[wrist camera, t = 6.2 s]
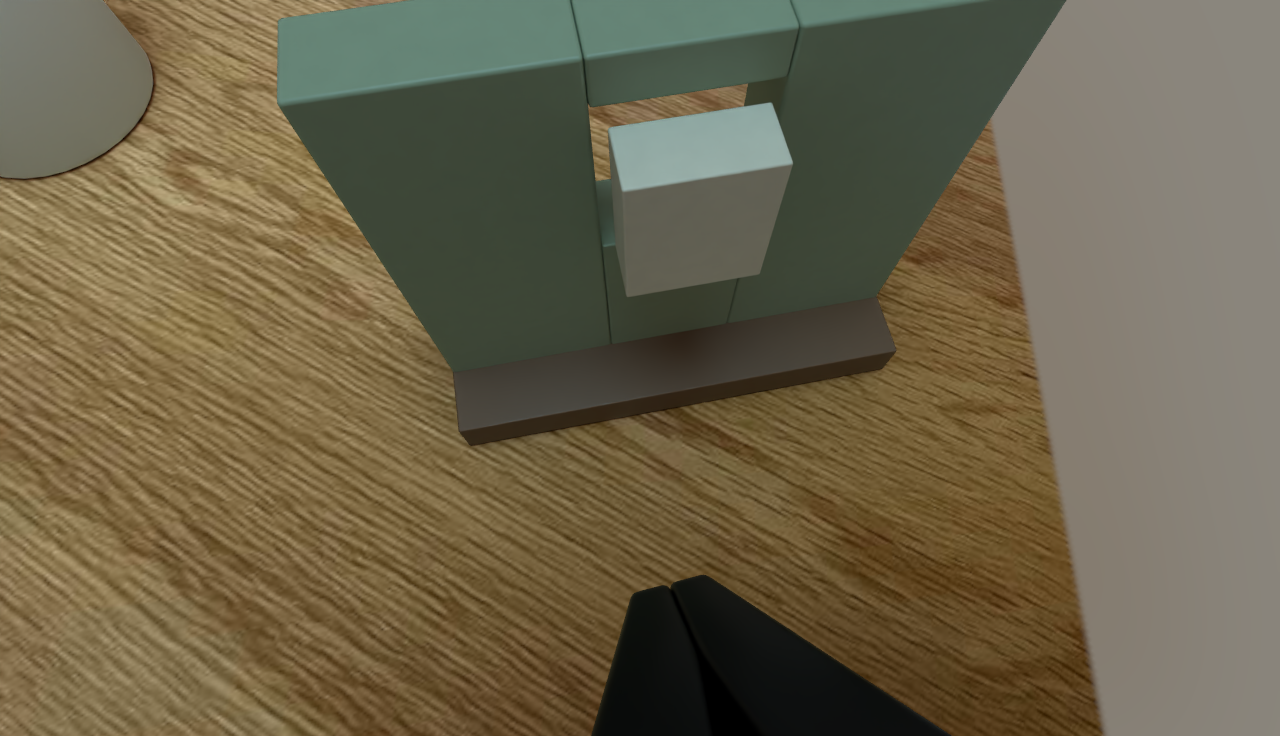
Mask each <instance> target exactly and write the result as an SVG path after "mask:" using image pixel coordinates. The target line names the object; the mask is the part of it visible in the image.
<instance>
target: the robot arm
mask: <svg viewBox="0 0 1280 736" xmlns="http://www.w3.org/2000/svg"><path fill="white" fill-rule="evenodd" d="M591 736H951V735H950V734H948V733H947V732H945V731H944V730H942V729H941V728H939V727H938V726H936V725H935V724H933V723H932V722H930V721H928V720H927V719H925V718H924V717H922V716H921V715H919V714H918V713H916V712H915V711H913V710H912V709H910V708H909V707H907V706H906V705H904V704H903V703H901V702H900V701H898V700H896V699H895V698H893V697H892V696H890V695H889V694H887V693H886V692H884V691H883V690H881V689H880V688H878V687H877V686H875V685H874V684H872V683H871V682H869V681H868V680H866V679H864V678H863V677H861V676H860V675H858V674H857V673H855V672H854V671H852V670H851V669H849V668H848V667H846V666H845V665H843V664H842V663H840V662H839V661H837V660H835V659H834V658H832V657H831V656H829V655H828V654H826V653H825V652H823V651H822V650H820V649H819V648H817V647H816V646H814V645H813V644H811V643H810V642H808V641H807V640H805V639H803V638H802V637H800V636H799V635H797V634H796V633H794V632H793V631H791V630H790V629H788V628H787V627H785V626H784V625H782V624H781V623H779V622H778V621H776V620H775V619H773V618H771V617H770V616H768V615H767V614H765V613H764V612H762V611H761V610H759V609H758V608H756V607H755V606H753V605H752V604H750V603H749V602H747V601H746V600H744V599H743V598H741V597H739V596H738V595H736V594H735V593H733V592H732V591H730V590H729V589H727V588H726V587H724V586H723V585H721V584H720V583H718V582H717V581H715V580H714V579H712V578H711V577H709V576H706V575H699V576H695V577H692V578H688V579H684V580H680V581H677V582H674V583H673V584H672V585H671V588H669V587H667V586H665V585H662V586H658V587H654V588H650V589H646V590H642V591H639V592H636V593H634V594H633V595H632V597H631V599H630V602H629V606H628V609H627V613H626V616H625V620H624V623H623V627H622V630H621V634H620V637H619V640H618V644H617V647H616V651H615V654H614V658H613V661H612V665H611V668H610V672H609V675H608V679H607V682H606V686H605V689H604V693H603V696H602V700H601V703H600V707H599V710H598V714H597V717H596V721H595V724H594V728H593V731H592V735H591Z"/></svg>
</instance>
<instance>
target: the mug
mask: <svg viewBox="0 0 1280 736" xmlns="http://www.w3.org/2000/svg"><path fill="white" fill-rule="evenodd" d="M152 87H153V77H152V69H151V65H150V62H149V59H148V57H147V54H146V53H145V51H144V50H143V48H142V47H141V46H140V45H139V43H138V42H137V41H136V40H135V38H134V37H133V36H132V35H131V34H130V32H129V31H128V30H127V29H126V27H125V26H124V25H123V24H122V23H121V21H120V20H119V19H118V18H117V17H116V15H115V14H114V13H113V12H112V10H111V9H110V8H109V7H108V6H107V4H106V3H105V2H104V1H103V0H0V176H1V177H5V178H22V179H27V178H36V177H45V176H49V175H53V174H57V173H61V172H65V171H68V170H70V169H73V168H75V167H78V166H80V165H83V164H85V163H87V162H89V161H91V160H93V159H95V158H96V157H98V156H100V155H102V154H103V153H105V152H106V151H108V150H109V149H110V148H112V147H113V146H114V145H116V144H117V143H118V142H120V141H121V140H122V139H123V138H124V137H125V136H126V135H127V134H128V133H129V132H130V131H131V130H132V129H133V128H134V126H135V125H136V124H137V122H138V121H139V119H140V118H141V116H142V115H143V113H144V112H145V110H146V107H147V105H148V103H149V100H150V98H151V93H152Z"/></svg>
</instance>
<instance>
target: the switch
mask: <svg viewBox="0 0 1280 736" xmlns="http://www.w3.org/2000/svg"><path fill="white" fill-rule="evenodd" d="M608 139H609V154H610V169H611V185H612V200H613V215H614V230H615V245H616V250H617V255H618V259H619V264H620V269H621V273H622V278H623V283H624V287H625V292H626V296H627V297H632V296H638V295H643V294H649V293H655V292H661V291H666V290H672V289H678V288H684V287H689V286H695V285H701V284H707V283H712V282H718V281H724V280H729V279H735V278H741V277H747V276H752V275H758V274H760V271H761V268H762V264H763V261H764V258H765V254H766V251H767V248H768V245H769V241H770V238H771V235H772V231H773V228H774V225H775V221H776V218H777V215H778V212H779V208H780V205H781V202H782V198H783V195H784V192H785V188H786V185H787V182H788V179H789V175H790V172H791V169H792V165H793V161H792V158H791V156H790V153H789V150H788V147H787V144H786V141H785V138H784V135H783V133H782V130H781V127H780V124H779V121H778V118H777V115H776V113H775V110H774V107H773V104H772V103H764V104H757V105H751V106H744V107H738V108H732V109H725V110H719V111H712V112H706V113H700V114H693V115H687V116H680V117H674V118H668V119H661V120H655V121H649V122H642V123H636V124H629V125H623V126H617V127H610V128H609V129H608Z"/></svg>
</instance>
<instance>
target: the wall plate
mask: <svg viewBox="0 0 1280 736" xmlns="http://www.w3.org/2000/svg"><path fill="white" fill-rule="evenodd" d="M1065 2H1066V0H409V1H401V2H394V3H387V4H380V5H373V6H366V7H359V8H352V9H344V10H337V11H330V12H323V13H316V14H309V15H302V16H295V17H287V18H281V19H280V20H279V21H278V67H277V104H278V106H279V107H280V109H281V110H282V112H283V113H284V115H285V116H286V118H287V119H288V121H289V122H290V124H291V125H292V127H293V129H294V130H295V132H296V133H297V135H298V136H299V138H300V139H301V141H302V142H303V144H304V145H305V147H306V148H307V150H308V151H309V153H310V154H311V156H312V157H313V159H314V160H315V162H316V163H317V165H318V167H319V168H320V170H321V171H322V173H323V174H324V176H325V177H326V179H327V180H328V182H329V183H330V185H331V186H332V188H333V189H334V191H335V192H336V194H337V195H338V197H339V198H340V200H341V201H342V203H343V205H344V206H345V208H346V209H347V211H348V212H349V214H350V215H351V217H352V218H353V220H354V221H355V223H356V224H357V226H358V227H359V229H360V230H361V232H362V233H363V235H364V236H365V238H366V239H367V241H368V243H369V244H370V246H371V247H372V249H373V250H374V252H375V253H376V255H377V256H378V258H379V259H380V261H381V262H382V264H383V265H384V267H385V268H386V270H387V271H388V273H389V274H390V276H391V277H392V279H393V281H394V282H395V284H396V285H397V287H398V288H399V290H400V291H401V293H402V294H403V296H404V297H405V299H406V300H407V302H408V303H409V305H410V306H411V308H412V309H413V311H414V312H415V314H416V316H417V317H418V319H419V320H420V322H421V323H422V325H423V326H424V328H425V329H426V331H427V332H428V334H429V335H430V337H431V338H432V340H433V341H434V343H435V344H436V346H437V347H438V349H439V350H440V352H441V354H442V355H443V357H444V358H445V360H446V361H447V363H448V364H449V366H450V367H451V369H452V370H453V377H454V387H455V397H456V407H457V418H458V428H459V432H460V434H461V435H462V436H463V437H464V438H465V440H466V441H467V442H468V443H469V445H476V444H482V443H487V442H492V441H498V440H503V439H508V438H514V437H519V436H524V435H530V434H535V433H540V432H546V431H551V430H556V429H562V428H567V427H573V426H578V425H583V424H589V423H594V422H599V421H605V420H610V419H615V418H621V417H626V416H631V415H637V414H642V413H647V412H653V411H658V410H664V409H669V408H674V407H680V406H685V405H690V404H696V403H701V402H706V401H712V400H717V399H722V398H728V397H733V396H738V395H744V394H749V393H754V392H760V391H765V390H771V389H776V388H781V387H787V386H792V385H797V384H803V383H808V382H813V381H819V380H824V379H829V378H835V377H840V376H845V375H851V374H856V373H861V372H867V371H872V370H878V369H882V368H883V367H884V366H885V364H886V363H887V362H888V361H889V360H890V358H891V357H892V356H893V355H894V353H895V352H896V348H895V345H894V342H893V339H892V337H891V334H890V331H889V329H888V326H887V323H886V321H885V318H884V315H883V313H882V310H881V307H880V304H879V302H878V299H877V294H878V293H879V291H880V289H881V288H882V286H883V285H884V283H885V282H886V280H887V279H888V277H889V275H890V274H891V272H892V271H893V269H894V268H895V266H896V265H897V263H898V261H899V260H900V258H901V257H902V255H903V254H904V252H905V251H906V249H907V247H908V246H909V244H910V243H911V241H912V240H913V238H914V237H915V235H916V233H917V232H918V230H919V229H920V227H921V226H922V224H923V223H924V221H925V219H926V218H927V216H928V215H929V213H930V212H931V210H932V208H933V207H934V205H935V204H936V202H937V201H938V199H939V198H940V196H941V194H942V193H943V191H944V190H945V188H946V187H947V185H948V184H949V182H950V180H951V179H952V177H953V176H954V174H955V173H956V171H957V170H958V168H959V166H960V165H961V163H962V162H963V160H964V159H965V157H966V156H967V154H968V152H969V151H970V149H971V148H972V146H973V145H974V143H975V142H976V140H977V138H978V137H979V135H980V134H981V132H982V131H983V129H984V128H985V126H986V124H987V123H988V121H989V120H990V118H991V117H992V115H993V114H994V112H995V110H996V109H997V107H998V106H999V104H1000V103H1001V101H1002V99H1003V98H1004V96H1005V95H1006V93H1007V91H1008V90H1009V89H1010V87H1011V86H1012V84H1013V82H1014V81H1015V79H1016V78H1017V76H1018V75H1019V73H1020V72H1021V70H1022V68H1023V67H1024V65H1025V64H1026V62H1027V61H1028V59H1029V58H1030V56H1031V54H1032V53H1033V51H1034V50H1035V48H1036V47H1037V45H1038V43H1039V42H1040V40H1041V39H1042V37H1043V36H1044V34H1045V33H1046V31H1047V30H1048V28H1049V26H1050V25H1051V23H1052V22H1053V20H1054V19H1055V17H1056V16H1057V14H1058V12H1059V11H1060V9H1061V8H1062V6H1063V5H1064V3H1065ZM747 83H748V87H747V93H746V98H745V103H744V106H751V105H757V104H764V103H772V104H773V107H774V110H775V113H776V115H777V118H778V121H779V124H780V127H781V130H782V133H783V135H784V138H785V141H786V144H787V147H788V150H789V153H790V156H791V158H792V161H793V165H792V169H791V172H790V175H789V179H788V182H787V185H786V188H785V192H784V195H783V198H782V202H781V205H780V208H779V212H778V215H777V218H776V221H775V225H774V228H773V231H772V235H771V238H770V241H769V245H768V248H767V251H766V254H765V258H764V261H763V264H762V268H761V271H760V274H758V275H752V276H747V277H741V278H735V279H729V280H724V281H718V282H712V283H707V284H701V285H695V286H689V287H684V288H678V289H672V290H666V291H661V292H655V293H649V294H643V295H638V296H632V297H627V296H626V292H625V287H624V283H623V278H622V273H621V269H620V264H619V259H618V255H617V250H616V245H615V230H614V215H613V200H612V185H611V179H607V180H601V181H595V172H594V162H593V152H592V142H591V132H590V122H589V112H588V104H589V105H590V107H598V106H604V105H611V104H617V103H624V102H630V101H637V100H643V99H650V98H656V97H663V96H669V95H676V94H682V93H689V92H695V91H702V90H708V89H715V88H721V87H728V86H734V85H741V84H747Z"/></svg>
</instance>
